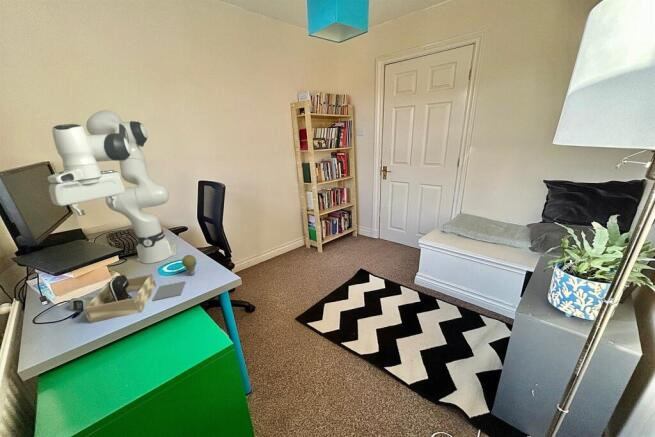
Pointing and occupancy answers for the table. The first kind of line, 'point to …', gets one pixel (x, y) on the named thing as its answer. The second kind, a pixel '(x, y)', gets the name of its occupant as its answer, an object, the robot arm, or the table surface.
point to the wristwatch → (80, 303)
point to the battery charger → (119, 288)
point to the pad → (169, 291)
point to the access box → (105, 310)
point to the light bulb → (189, 263)
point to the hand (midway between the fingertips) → (97, 211)
